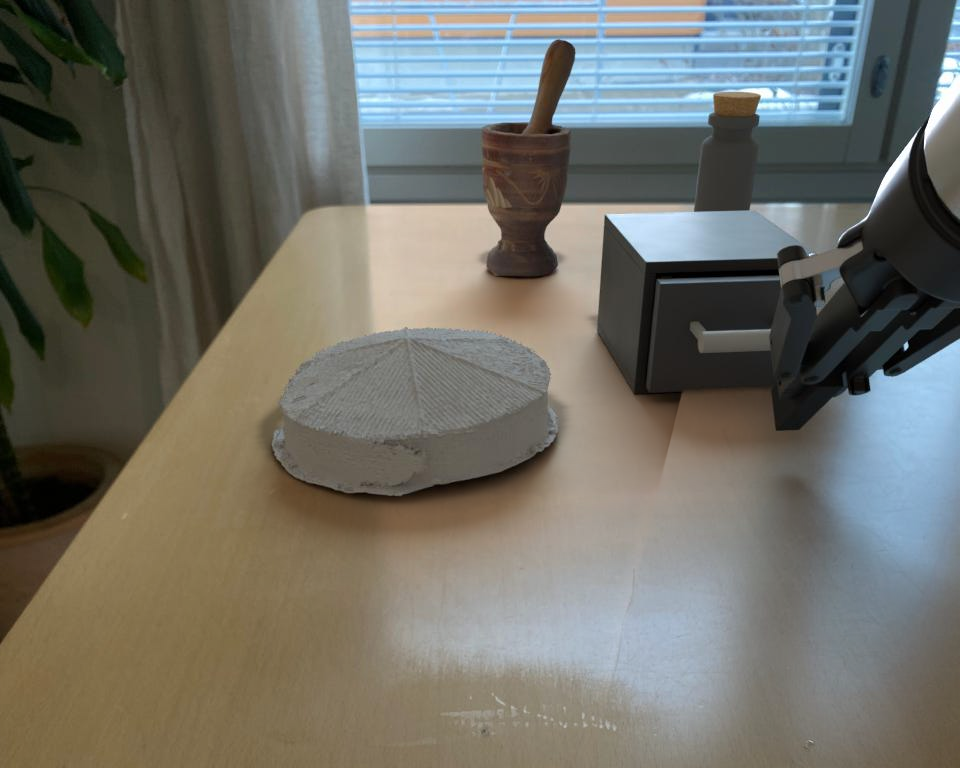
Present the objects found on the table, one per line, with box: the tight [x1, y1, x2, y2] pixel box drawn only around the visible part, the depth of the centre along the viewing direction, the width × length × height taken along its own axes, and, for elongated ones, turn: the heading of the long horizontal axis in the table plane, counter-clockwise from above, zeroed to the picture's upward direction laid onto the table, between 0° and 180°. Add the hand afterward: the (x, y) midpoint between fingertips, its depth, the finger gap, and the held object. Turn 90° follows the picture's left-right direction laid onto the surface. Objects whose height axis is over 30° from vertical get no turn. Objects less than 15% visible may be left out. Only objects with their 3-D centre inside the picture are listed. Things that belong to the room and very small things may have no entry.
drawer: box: [646, 270, 781, 394], centre depth 73 cm, size 18×11×8 cm, turn 5°
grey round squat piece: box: [271, 326, 559, 497], centre depth 66 cm, size 20×20×7 cm
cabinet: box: [596, 209, 817, 395], centre depth 77 cm, size 15×13×10 cm
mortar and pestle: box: [480, 38, 577, 277], centre depth 97 cm, size 12×9×20 cm
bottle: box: [693, 91, 762, 212], centre depth 103 cm, size 6×6×15 cm
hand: (785, 409), depth 61 cm, fingers closed
